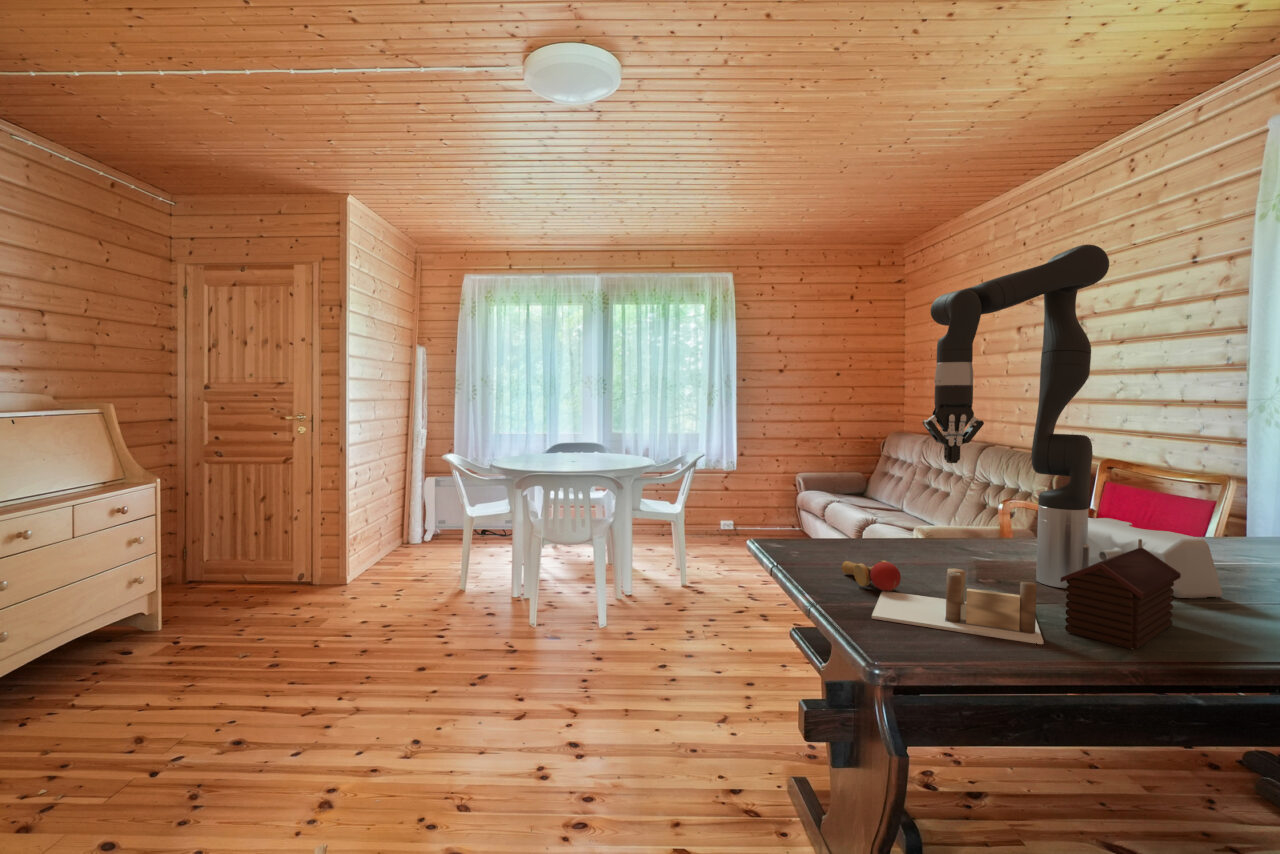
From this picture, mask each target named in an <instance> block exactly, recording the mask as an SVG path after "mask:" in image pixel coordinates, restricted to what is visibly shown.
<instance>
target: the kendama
mask: <svg viewBox="0 0 1280 854" xmlns="http://www.w3.org/2000/svg"><path fill="white" fill-rule="evenodd" d="M841 571H842V572H843V574H845V575H853V576H854V579H855V581H856V582H857V584H858V585H859V586H861V587H866V586H869V585H870V583H872V585H874V586H875V588H876V589H878V590H881V591H888V592H893V590H895V589H896V588H898V587H899V585H900V583H901V579H902V577H901V572H900V570H899V568H898V567H897V566H896V565H895V564H893V563H891V562H889V561H887V560H879V561H878V562H877V563H875V564H874V565H872V566H867V565H865V564H864V563H860V562H859V563H855V562H851V561H849V560H845V561H844V562H843V563H842V564H841Z"/></svg>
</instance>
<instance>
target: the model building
mask: <svg viewBox="0 0 1280 854" xmlns="http://www.w3.org/2000/svg"><path fill="white" fill-rule="evenodd" d="M1179 578H1181V573H1180V572H1178V571H1177V570H1175V569H1174V568H1172V567H1171V566H1169V565H1168V564H1166V563H1165V562H1163V561H1162V560H1160V559H1159V558H1157V557H1156V556H1154V555H1153V554H1151V553H1150V552H1148V551H1147V550H1145V549H1144V548H1142V539H1138V548H1137V549H1134V550H1132V551H1129V552H1126V553H1123V554H1120V555H1117V556H1114V557H1112V558H1109V559H1106V560H1103V561H1101V562H1098V563H1096V564H1093V565H1091V566H1088V567H1086V568H1083V569H1081V570H1078V571H1076V572H1073V573H1071V574H1069V575H1066V576H1064V577H1061V582H1063V581H1065V580H1066V581H1067V583H1068V584H1069V585H1068V586H1067V587H1066V588H1065V589H1066V591H1067V593H1066V595H1065V598H1066V600H1067V601H1066V602H1065V606H1066V610H1065V615H1066V617H1065V619H1064V620H1065V622H1066V625H1065V627H1064V629H1065V631H1066V632H1067V633H1069V634H1072V635H1076V636H1080V637H1083V638H1084V637H1085V638H1087V639H1092V640H1095V641H1099V642H1103V643H1107V644H1111V645H1114V646H1118V647H1122V648H1126V649H1128V650H1134V649H1135V650H1137V649H1138V648H1140V647H1141V646H1143V645H1144V644H1146V643H1147V642H1149V641H1150V640H1151V639H1153V638H1154V637H1156V636H1158V635H1159V634H1160V633H1162V632H1163V631H1164V630H1166V629H1167V628H1169V627H1170V626H1172V625H1173V623H1174V622H1173V620H1172V619H1171V618H1172V617H1173V616H1174V614H1173V612H1172V610H1174V609H1173V608H1174V606H1173V603H1172V602H1173V601H1174V597H1172V596H1171V595H1172V594H1173V593H1174V591H1173V589H1172V588H1171V587H1172V586H1174V581H1176V580H1177V579H1179ZM1132 648H1133V649H1132Z"/></svg>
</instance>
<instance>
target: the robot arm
mask: <svg viewBox="0 0 1280 854" xmlns="http://www.w3.org/2000/svg"><path fill="white" fill-rule="evenodd" d="M1109 267H1110V259H1109V256H1108V254H1107V253H1106V251H1105V250H1104V249H1103V248H1101V247H1100V246H1098V245H1095V244H1082V245H1081V244H1080V245H1078V246H1074V247H1071V248H1070V249H1067V250H1065V251H1063V252H1060V253H1058V254H1055V255H1054V256H1053V257H1051V258H1049V260H1048V261H1047V262H1046V263H1044V264H1040V265H1037V266H1033V267H1030V268H1026V269H1023V270H1020V271H1015V272H1013V273H1009V274H1005V275H1002V276H999V277H994V278H993V279H989V280H986V281H984V282H982V283H981V282H980V283H978V284H976V285H973V286H971V287H967V288H964V289H959V290H956V291H951V292H948V293H944V294H941V295H940V296H938V297H937V298H936V299H935V300H934V301H933V302H932V304H931V306H930V316H931V319H932V320H933V321H934V323H937V324H938V325H941V326H948V327H947V332H946V334H945V335H943V336H942V337H940V338H939V339H938V341H937V344H936V365H935V374H934V382H933V383H934V400H933V401H934V409H933V411H932V416H930V417H929V418H928V419H923V421H922V423H921V424H922V425H923V427H924V428H925V429H926V431H927V432H928V433H929V434H930V436H931V437H932V438H933V440H934V441H935V442H936V443H939V444H941V445H943V450H944V451H943V459H944V461H945V462H946V463H947V464H958V462H959V461H960V459H961V446H962V445H964V444H969V443H970V442H971V441H972V440H973V438H975V436H976V434H978V432H980V429H981V428H982V427H983V426H984V425H985V423H984V421H983V420H979V418H978V417H976V416H975V412H974V411H973V404H974V367H973V366H974V365H973V358H974V357H973V354H974V353H973V348H974V345H973V343H974V340H975V338H976V335H977V333H978V328H979V325H980V321H981V316H982V315H987V314H993V313H996V312H999V311H1002V310H1006V309H1008V308H1011V307H1014V306H1016V305H1020V304H1022V303H1025V302H1027V301H1030V300H1031V299H1034V298H1038V297H1040V296H1042V295H1043V304H1044V305H1043V307H1044V308H1043V311H1044V314H1043V315H1044V317H1043V318H1044V320H1043V333H1042V334H1043V336H1042V338H1043V339H1042V340H1043V341H1042V348H1041V357H1040V369H1039V371H1040V373H1039V375H1040V376H1039V394H1038V407H1037V413H1036V420H1035V426H1034V433H1033V439H1032V444H1031V456H1030V457H1031V459H1030V460H1031V466H1032V469H1033V470H1034V472H1035V473H1036V474H1039V475H1049V476H1059V477H1060V476H1062V477H1064V476H1065V477H1070V478H1069V481H1068V482H1067V484H1065V485H1063V486H1060V487H1057V488H1052V489H1047V490H1044V491H1041V492H1040V493H1039V494H1038V499H1037V500H1038V504H1037V505H1038V506H1037V535H1036V537H1037V539H1036V570H1035V574H1036V575H1035V579H1036V582H1038V583H1040V584H1043V585H1045V586H1049V587H1053V588H1061V589H1066V587H1067V586H1068V585H1069V584H1068V583H1067V581H1066V580H1065V581H1063V582H1061V577H1064V576H1066V575H1069V574H1071V573H1073V572H1076V571H1078V570H1081V569H1083V568H1086V567H1088V566H1089V545H1088V544H1087V542H1088V519H1089V507H1090V490H1091V489H1090V486H1091V485H1090V484H1091V483H1090V482H1091V474H1092V473H1091V472H1092V463H1093V443H1092V441H1091V439H1090V437H1089V436H1087V435H1085V434H1073V433H1072V434H1070V433H1069V434H1068V433H1067V434H1065V433H1055V428H1056V425H1057V422H1058V420H1059V417H1060V415H1061V414H1062V412H1063V411H1064V410H1065V408H1066V407H1067V406H1068V404H1069V403H1070V402H1071V400H1072V399H1073V398H1074V397H1075V396H1076V395H1077V394H1078V393H1079V392H1080V391H1081V389H1082V387H1084V385H1085V384H1086V383H1087V381H1088V379H1089V376H1090V373H1091V360H1092V359H1091V358H1092V345H1091V341H1090V339H1089V337H1088V335H1087V333H1086V331H1085V330H1084V329H1083V327H1082V325H1081V324H1080V321H1079V319H1078V317H1077V309H1076V307H1077V306H1076V304H1077V296H1078V295H1077V294H1078V290H1082V289H1084V288H1085V289H1086V288H1088V287H1090V286H1093V285H1095V284H1097V283H1099V282H1100V281H1102V279H1104V277H1106V275H1107V273H1108V272H1109ZM937 426H939V428H941V430H940V429H939V428H938V427H937ZM967 426H968V427H967ZM966 427H967V428H966ZM965 429H966V430H965Z"/></svg>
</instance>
